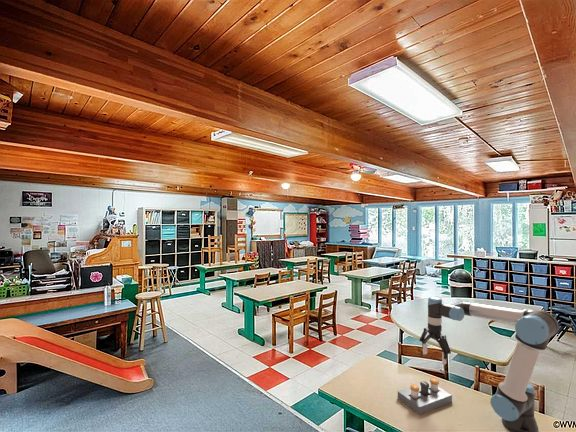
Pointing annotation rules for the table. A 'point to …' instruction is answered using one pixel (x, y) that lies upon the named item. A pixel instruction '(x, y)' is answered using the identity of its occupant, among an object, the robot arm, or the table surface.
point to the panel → (425, 399)
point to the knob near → (414, 391)
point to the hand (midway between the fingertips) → (434, 358)
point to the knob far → (434, 385)
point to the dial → (424, 388)
